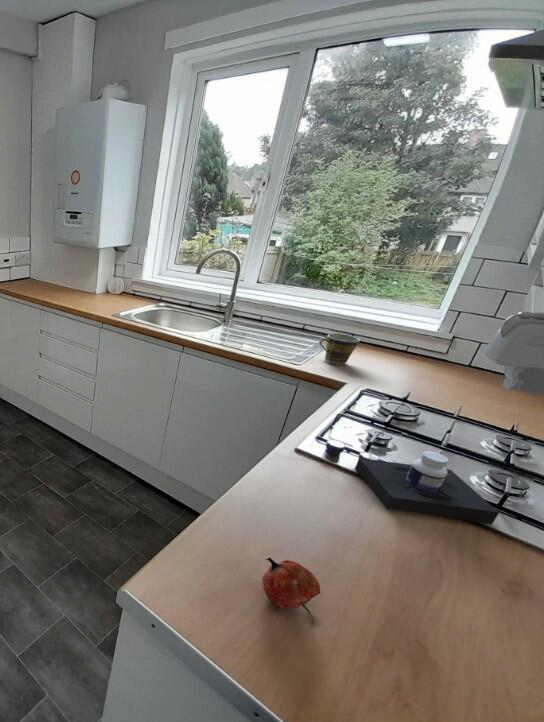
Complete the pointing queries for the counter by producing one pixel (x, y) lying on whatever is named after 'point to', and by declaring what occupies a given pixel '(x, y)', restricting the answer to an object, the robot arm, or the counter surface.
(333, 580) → the counter surface
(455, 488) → the black pad
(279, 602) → the pomegranate
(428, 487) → the pill bottle
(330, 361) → the ceramic cup
